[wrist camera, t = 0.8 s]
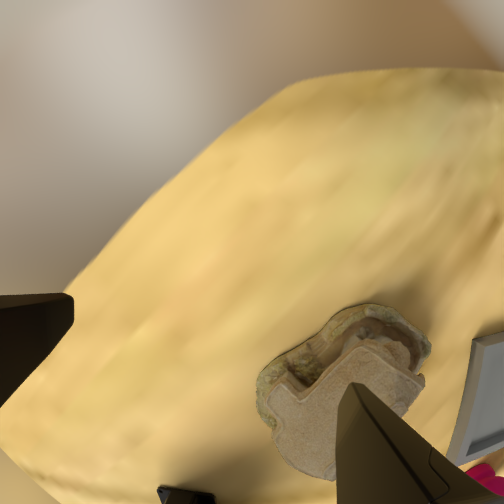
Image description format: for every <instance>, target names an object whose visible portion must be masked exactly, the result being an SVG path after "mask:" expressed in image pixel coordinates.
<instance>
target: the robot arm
mask: <svg viewBox="0 0 504 504" xmlns="http://www.w3.org/2000/svg"><path fill="white" fill-rule="evenodd" d="M73 322H74V299H73V297H72V296H70V295H68V294H65V293H47V294H24V295H0V408H1V406H2V405H3V404H4V403H5V402H6V401H7V400H8V399H9V397H10V396H11V395H12V394H13V393H14V392H15V391H16V390H17V389H18V387H19V386H20V385H21V384H22V383H23V382H24V381H25V380H26V379H27V378H28V377H29V375H30V374H31V373H32V372H33V371H34V370H35V369H36V368H37V367H38V366H39V365H40V364H41V363H42V362H43V361H44V360H45V359H46V357H47V356H48V355H49V354H50V353H51V352H52V350H53V349H54V348H55V347H56V345H57V344H58V343H59V341H60V340H61V339H62V338H63V336H64V335H65V334H66V333H67V331H68V330H69V329H70V328H71V326H72V325H73ZM335 461H336V486H337V504H504V496H500V495H498V494H495V493H494V492H492V491H490V490H489V489H487V488H486V487H484V486H483V485H482V484H480V483H479V482H477V481H476V480H475V479H473V478H472V477H470V476H469V475H468V474H466V473H465V472H463V471H462V470H461V469H459V468H458V467H457V466H455V465H454V464H453V463H452V462H450V461H449V460H448V459H447V458H446V457H444V456H443V455H442V454H441V453H440V452H439V451H437V450H436V449H435V448H434V447H432V445H431V444H429V443H428V442H427V441H426V440H425V439H424V438H423V437H422V436H420V435H419V434H418V433H417V432H416V431H415V430H414V429H413V428H411V427H410V426H409V425H408V424H407V423H406V422H405V421H404V420H403V419H401V418H400V417H399V416H398V415H397V414H396V413H395V412H394V411H393V410H392V409H390V408H389V407H388V406H387V405H386V404H385V403H384V402H383V401H382V400H381V399H379V398H378V397H377V396H376V395H375V394H374V393H373V392H372V391H371V390H370V389H369V388H367V387H366V386H365V385H364V384H362V383H356V382H351V383H349V385H348V386H347V388H346V390H345V392H344V394H343V396H342V398H341V400H340V402H339V405H338V411H337V428H336V443H335ZM157 493H158V495H159V498H160V500H161V503H162V504H217V503H216V499H215V496H214V495H213V494H210V493H201V492H192V491H184V490H177V489H171V488H165V487H158V489H157Z"/></svg>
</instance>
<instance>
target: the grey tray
mask: <svg viewBox="0 0 504 504" xmlns="http://www.w3.org/2000/svg"><path fill="white" fill-rule="evenodd" d="M503 447H504V331H503V332H500V333H496V334H492V335H488V336H484V337H480V338H476V339H472V347H471V354H470V360H469V366H468V372H467V378H466V383H465V388H464V393H463V397H462V401H461V406H460V410H459V414H458V418H457V422H456V425H455V429H454V432H453V436H452V439H451V442H450V445H449V449H448V452H447V455H446V458H447V459H448V460H449V461H450V462H452V463H453V464H454V465H455V466H457V467H458V466H460V465H463V464H466V463H468V462H471V461H473V460H476V459H478V458H481V457H483V456H485V455H488V454H490V453H492V452H494V451H497V450H499V449H501V448H503Z"/></svg>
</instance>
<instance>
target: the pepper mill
mask: <svg viewBox="0 0 504 504" xmlns="http://www.w3.org/2000/svg"><path fill="white" fill-rule="evenodd" d="M466 474H468V475H469V476H470V477H472V478H473V479H475V480H476V481H477V482H479V483H480V484H482V485H483V486H484V487H486V488H487V489H489V490H490V491H492V492H494V493H495V494H498V495H500V496H504V477H500V476H495V471H494V470H493V469H492V468H491V466H490V465H489V464H480V465H477V466H475V467H473V468H472V469H470V470H469V471H467V472H466Z"/></svg>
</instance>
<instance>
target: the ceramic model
mask: <svg viewBox="0 0 504 504" xmlns="http://www.w3.org/2000/svg"><path fill="white" fill-rule="evenodd" d="M430 353H431V344H430V342H429V341H428V339H427V337H426V335H424V333H423V332H422V331H421V330H419V329H417V328H416V327H415V326H413V325H412V324H410V323H409V322H408V321H407V320H406V319H405V318H403V317H402V316H401V314H400V313H398V312H397V311H396V310H395V309H393V308H392V307H386V306H381V305H376V304H363V305H359V306H356V307H353V308H348V309H346V310H343V311H341V312H339V313H338V314H336V315H335V316H334V317H332V318H331V319H330V320H329V321H328V323H327V324H326V325H325V326H324V328H323V329H322V330H321V331H320V332H319V333H318V334H317V335H316V336H314V337H313V338H311V339H309V340H307V341H305V342H304V343H303V344H301V345H300V346H298V347H297V348H295V349H293V350H291V351H289V352H288V353H286V354H284V355H281V356H280V357H278V358H276V359H275V360H273V361H272V362H271V363H270V364H269V365H268V366H267V367H266V368H265V369H264V370H263V371H262V372H261V373H260V375H259V377H258V379H257V383H256V387H257V391H256V393H257V401H256V404H257V410H258V413H259V414H260V416H261V418H262V420H263V421H264V422H265V423H266V424H267V425H268V426H269V427H270V428H272V429H273V430H272V439H273V441H274V443H275V444H276V446H277V448H278V450H279V452H280V454H281V455H282V457H283V459H284V460H285V461H286V463H287V464H288V465H290V466H291V467H292V468H294V469H296V470H298V471H300V472H302V473H305V474H307V475H309V476H312V477H316V478H320V479H324V480H326V479H327V480H329V481H334V480H336V461H335V443H336V428H337V411H338V405H339V402H340V400H341V398H342V396H343V394H344V392H345V390H346V388H347V386H348V385H349V383H351V382H356V383H362V384H364V385H365V386H366V387H367V388H369V389H370V390H371V391H372V392H373V393H374V394H375V395H376V396H377V397H378V398H379V399H381V400H382V401H383V402H384V403H385V404H386V405H387V406H388V407H389V408H390V409H392V410H393V411H394V412H395V413H396V414H397V415H398V416H399V417H400V418H401V417H402V416H403V415H404V414H405V413H406V412H407V411H408V408H409V407H410V405H411V404H412V403H413V402H414V400H415V399H416V398H417V397H418V395H419V394H420V392H421V391H422V390H423V388H424V387H425V378H424V375H423V374H421V373H420V374H419V375H416V374H417V373H418V371H419V369H420V367H421V365H422V363H423V361H424V360H425V359H426V358H427V357H428V356H429V355H430Z"/></svg>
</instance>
